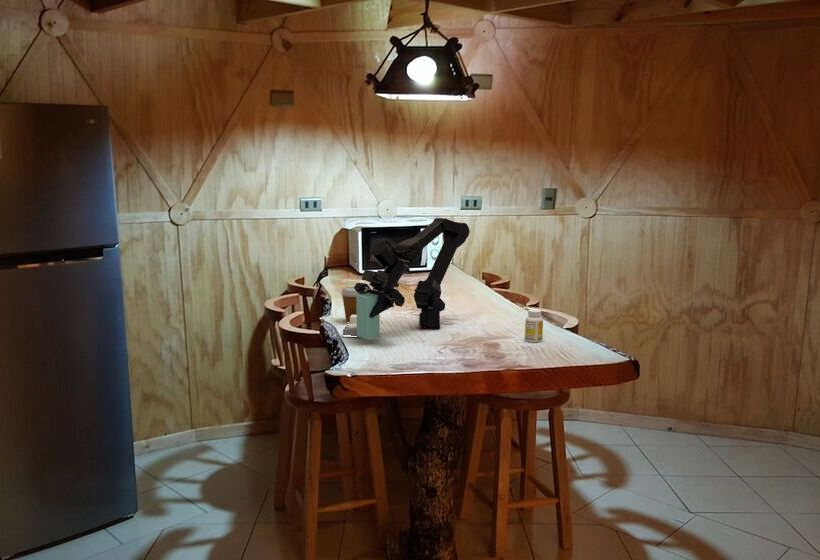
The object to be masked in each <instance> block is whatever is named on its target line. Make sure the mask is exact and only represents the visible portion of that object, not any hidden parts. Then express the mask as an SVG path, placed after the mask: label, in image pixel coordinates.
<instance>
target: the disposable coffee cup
mask: <svg viewBox="0 0 820 560" xmlns="http://www.w3.org/2000/svg"><path fill="white" fill-rule="evenodd" d="M340 294H341V296H342V302H343V310H344V314H345V322H346V321H347V322H350V316H351V315H357V308H356V295H360V294H359V293H358V292H357V291H356V290H355V289H354V286H344V287H343V288H341V292H340Z"/></svg>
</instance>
